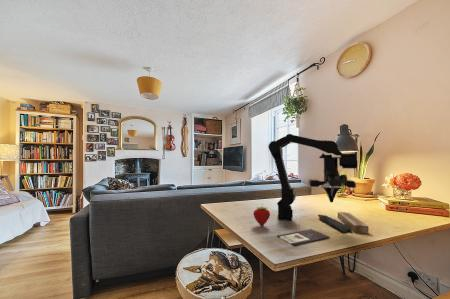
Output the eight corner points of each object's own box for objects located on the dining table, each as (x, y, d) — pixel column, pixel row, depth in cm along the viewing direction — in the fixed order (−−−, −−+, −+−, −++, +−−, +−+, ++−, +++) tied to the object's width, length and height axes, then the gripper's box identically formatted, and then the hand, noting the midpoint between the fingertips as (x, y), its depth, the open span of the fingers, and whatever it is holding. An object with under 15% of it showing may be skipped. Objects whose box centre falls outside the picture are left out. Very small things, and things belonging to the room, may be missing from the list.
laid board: (353, 232, 86) (353, 224, 86) (337, 217, 106) (337, 211, 106) (368, 233, 85) (368, 225, 85) (349, 218, 105) (349, 212, 105)
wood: (359, 234, 85) (359, 227, 85) (342, 234, 84) (342, 227, 84) (328, 218, 107) (328, 212, 107) (314, 218, 106) (314, 212, 106)
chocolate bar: (329, 236, 79) (293, 244, 72) (329, 239, 79) (293, 247, 72) (311, 229, 88) (277, 235, 80) (311, 231, 88) (277, 237, 80)
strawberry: (251, 224, 94) (251, 202, 94) (266, 223, 95) (266, 201, 96) (256, 228, 88) (256, 205, 88) (272, 227, 90) (272, 204, 90)
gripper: (312, 169, 89) (313, 205, 88) (360, 169, 85) (361, 207, 84) (307, 167, 100) (308, 200, 99) (350, 168, 96) (351, 201, 95)
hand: (331, 202), depth 94 cm, fingers closed
